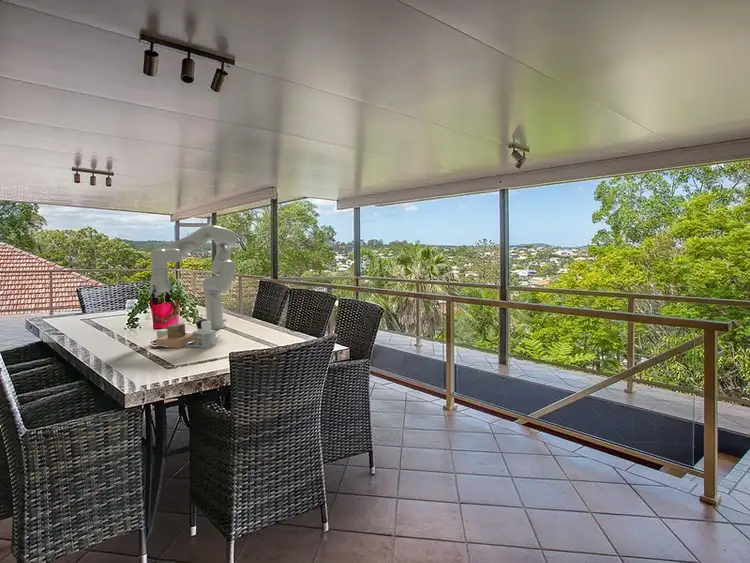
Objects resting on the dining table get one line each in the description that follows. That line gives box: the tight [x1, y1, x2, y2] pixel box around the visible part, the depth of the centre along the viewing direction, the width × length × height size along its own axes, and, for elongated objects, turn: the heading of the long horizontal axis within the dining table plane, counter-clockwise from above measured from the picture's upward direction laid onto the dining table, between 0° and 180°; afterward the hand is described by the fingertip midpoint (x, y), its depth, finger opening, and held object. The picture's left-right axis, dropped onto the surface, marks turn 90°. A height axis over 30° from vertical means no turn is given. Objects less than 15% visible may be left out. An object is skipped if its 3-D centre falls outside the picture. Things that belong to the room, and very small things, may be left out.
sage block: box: [156, 328, 168, 339], centre depth 241 cm, size 5×5×5 cm
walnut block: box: [166, 323, 186, 338], centre depth 228 cm, size 6×6×6 cm
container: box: [192, 319, 217, 349], centre depth 223 cm, size 8×8×13 cm
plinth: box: [155, 332, 193, 349], centre depth 228 cm, size 14×14×4 cm
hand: (161, 303), depth 239 cm, fingers open, 9 cm apart
